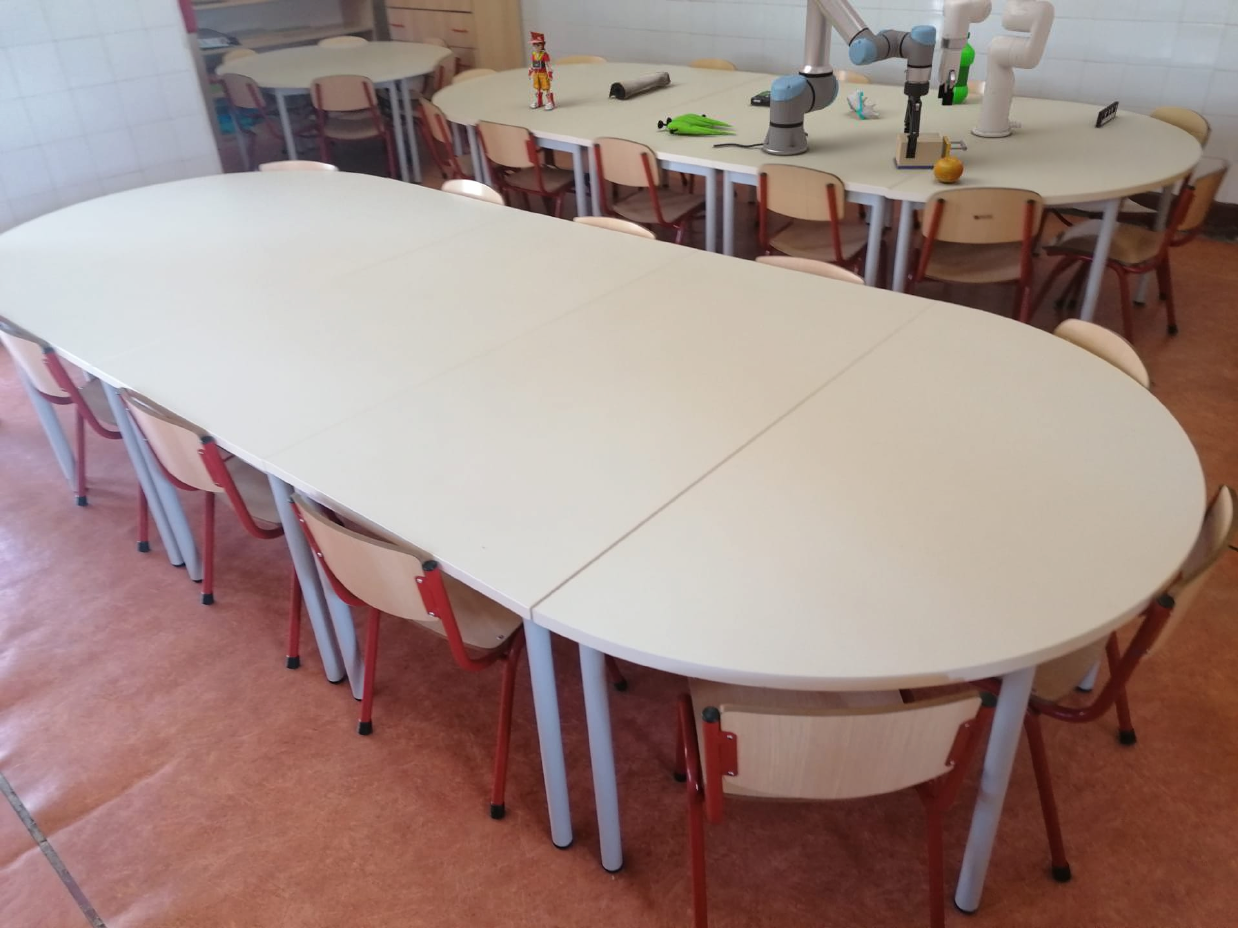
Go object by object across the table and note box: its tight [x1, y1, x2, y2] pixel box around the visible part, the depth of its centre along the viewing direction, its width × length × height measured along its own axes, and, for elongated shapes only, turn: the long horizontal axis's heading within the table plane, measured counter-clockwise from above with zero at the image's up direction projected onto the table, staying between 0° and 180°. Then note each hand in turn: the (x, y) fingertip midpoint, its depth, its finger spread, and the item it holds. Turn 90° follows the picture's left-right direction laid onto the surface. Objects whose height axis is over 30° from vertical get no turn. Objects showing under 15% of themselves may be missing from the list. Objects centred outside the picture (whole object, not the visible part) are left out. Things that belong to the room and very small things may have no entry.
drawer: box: [941, 135, 968, 159], centre depth 290 cm, size 17×9×6 cm, turn 81°
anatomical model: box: [846, 88, 881, 120], centre depth 344 cm, size 15×10×10 cm
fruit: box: [933, 156, 965, 183], centre depth 275 cm, size 8×9×8 cm
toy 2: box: [657, 113, 735, 135], centre depth 338 cm, size 28×5×30 cm
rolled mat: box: [608, 71, 672, 101], centre depth 395 cm, size 30×9×10 cm
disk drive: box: [750, 90, 771, 107], centre depth 369 cm, size 10×3×15 cm
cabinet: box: [894, 132, 943, 170], centre depth 291 cm, size 13×11×8 cm
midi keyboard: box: [1095, 100, 1120, 128], centre depth 320 cm, size 18×1×5 cm, turn 138°
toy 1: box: [527, 31, 556, 111], centre depth 374 cm, size 12×9×30 cm
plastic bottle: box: [953, 31, 976, 104], centre depth 348 cm, size 10×10×25 cm
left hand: (908, 153), depth 292 cm, fingers closed on cabinet, 11 cm apart
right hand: (944, 102), depth 287 cm, fingers open, 9 cm apart
